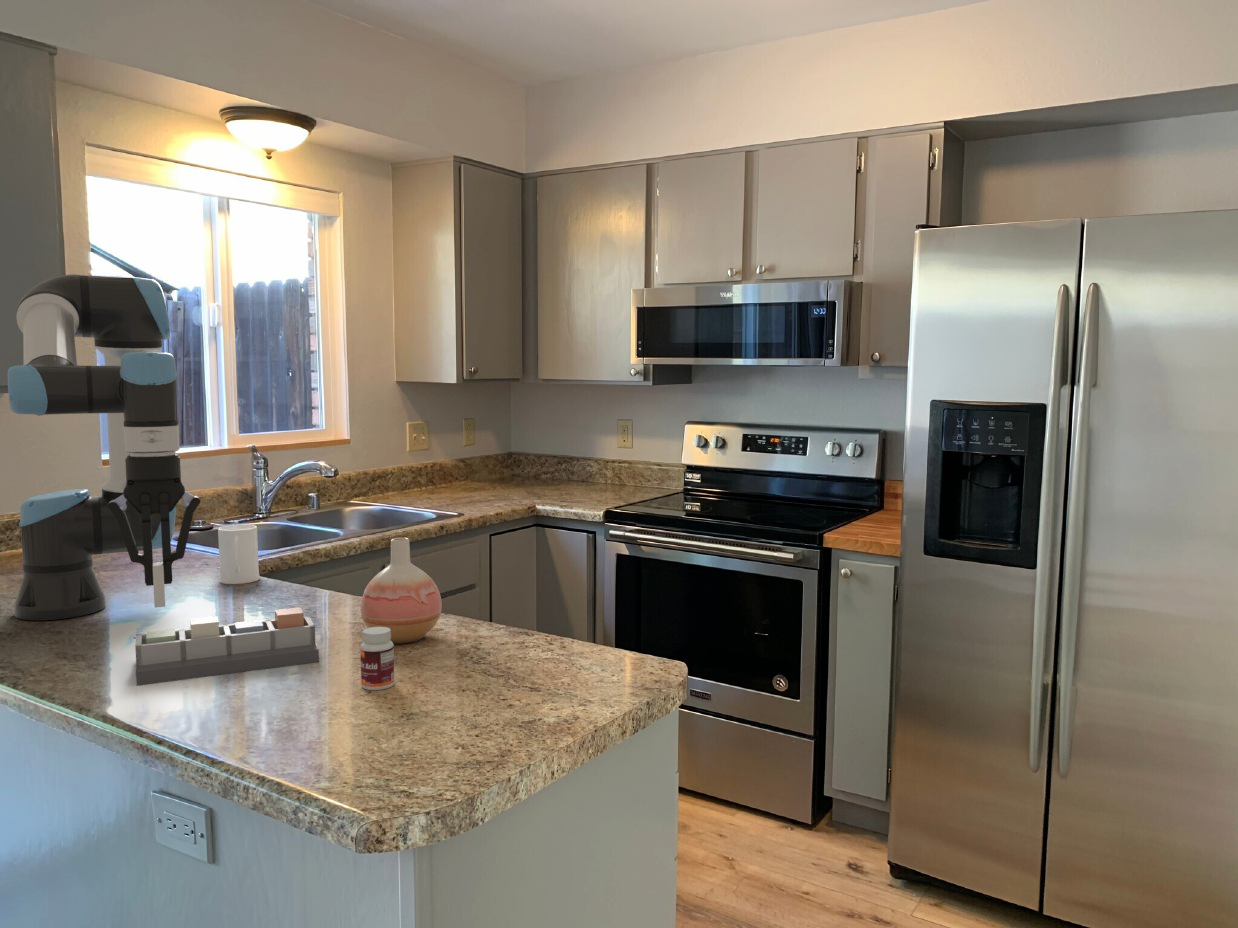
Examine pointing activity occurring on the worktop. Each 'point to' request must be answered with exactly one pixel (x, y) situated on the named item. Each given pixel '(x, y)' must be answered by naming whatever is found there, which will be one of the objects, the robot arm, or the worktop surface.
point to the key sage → (160, 636)
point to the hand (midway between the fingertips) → (159, 604)
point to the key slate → (248, 626)
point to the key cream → (204, 627)
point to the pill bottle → (377, 659)
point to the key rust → (289, 618)
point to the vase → (401, 598)
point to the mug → (238, 554)
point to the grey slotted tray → (224, 652)
